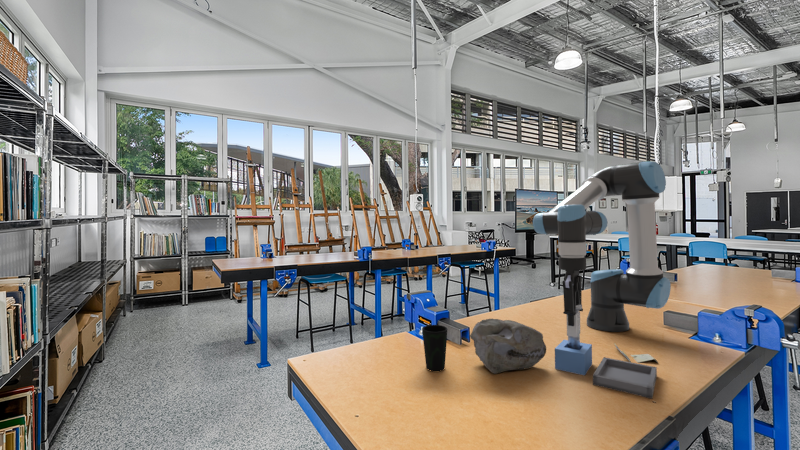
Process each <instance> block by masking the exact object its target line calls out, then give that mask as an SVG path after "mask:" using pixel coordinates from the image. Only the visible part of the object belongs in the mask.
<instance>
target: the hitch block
mask: <svg viewBox="0 0 800 450" xmlns="http://www.w3.org/2000/svg"><path fill="white" fill-rule="evenodd" d="M592 365H593V345H592V344H591V343H585V342H580V350H576V349H571V348H568V339H563V340H561V342H560V343H559V344H558V345H556V347H554V369H555V370H559V371H564V372H567V373H572V374H577V375H582V376H585V375H586V374H587V373H588V371H589V370H590V369H591V367H592Z"/></svg>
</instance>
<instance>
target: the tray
mask: <svg viewBox="0 0 800 450" xmlns="http://www.w3.org/2000/svg"><path fill="white" fill-rule="evenodd" d="M657 369H658V367H657V366H652V365H647V364H640V363H638V362H632V361H631V362H630V361H625V360H620V359H615V358H609V357H606V356H604V357H603V358H602V359H601V361H600V363H599V365H598V366H597V367H596V370H595V371H594V372H593V374H592V385H593V386H597V387H601V388H604V389H610V390H614V391H617V392H623V393H625V394H631V395H635V396H637V397H638V396H639V397H643V398H647V399H650V400H651V399H653V397H654V396H653V395H654V391H655V387H656V382H657V377H658V375H657V374H658V372H657Z"/></svg>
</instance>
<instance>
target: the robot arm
mask: <svg viewBox="0 0 800 450" xmlns="http://www.w3.org/2000/svg"><path fill="white" fill-rule="evenodd" d="M666 180H667V179H666V175H665V172H664V170H663V168H662V166H661V165H660V163H658V162H657V161H653V160H651V161H638V162H632V163H624V164H618V165H617V164H616V165H610V166H607V167H605V168H602V169H600V170H598V171H596V172H595V173H593V174H591V175H590V176H588V177H587V178H586V179H584V180H583V182H581V186H580V187H578V188H577V189H576V190H574V191H573V192H572V193H571V194H569V195H568V196H567V197H565V198H564V199H563V200H562V201H561V202H559V203H558V204H556V205H555V206H553V208H552V209H550V210H549V211H547V212H538V213H536V214H535V215H534V216H533V219H532V227H533V230H534V231H535V232H536V233H537V234H539V235H541V234H542V235H548V236H549V235H558V240H557V241H558V243H557V244H556V248H557V249H558V255H559V257H558V269H559V270H562V271H565V275H564V276H563V280H562V283H561V284H562V288H563V291H562V292H563V312H562V313H563V314H564V315H566V336H567V337H568V336H572V337H577V315H576V304H581V305H582V306H583V304H582V302H583V301H582V299H583V298H582V291H583V290H582V285H583V284H582V282H583V281H582V280H583V276H582V275H580V272H581V271H585V270H587V258H586V257H585V256H586V255H587V238H586V237H587V236H596V235H600V234H601V233H603V232H604V231H605V230H606V229H607V227H608V219H607V217H606V215H605V214H604V213H603V212H600V211H598V210H587V209H588V208H589V207H590V206H592V205H593V204H594V203H595V202H596V201H601V200H602V199H604V198H605V197H611V196H613V197H614V196H621V200H622V201H623V202H624V204H626V209H627V227H628V228H627V229H628V245H629V246H628V247H629V249H628V250H629V264H630V265H629V267H628V268H627V269H626V270H625V271H624V270H623V269H620V268H618V269H616V268H615V269H614V268H613V269H601V270H595V271H592V273H590V308H589V311H588V314H587V317H586V325H587V326H588V327H590V328H591V329H595V330H598V331H605V332H610V333H611V332H613V333H614V332H615V333H616V332H617V333H618V332H619V333H620V332H627V331H629V330H630V322H629V319H628V316H627V313H626V311H625V305H630V306H636V307H642V308H646V309H662V308H664V307H665V306H666V304H667V302H668V301H669V298H670V294H671V289H672V288H671V286H672V283H671V280H670V279H669V278H668V277H666V276H664V271H663V270H661V269H660V268H659V266H658V265H659V264H658V247H657V246H658V245H657V227H656V226H657V224H656V205H655V204H656V202H657V200H659V199H660V194H661V193H664V191H665V190H666V185H667V181H666ZM586 210H587V211H586ZM583 311H584V308H582V309H581V310H579V325H580V326H581V312H583Z"/></svg>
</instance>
